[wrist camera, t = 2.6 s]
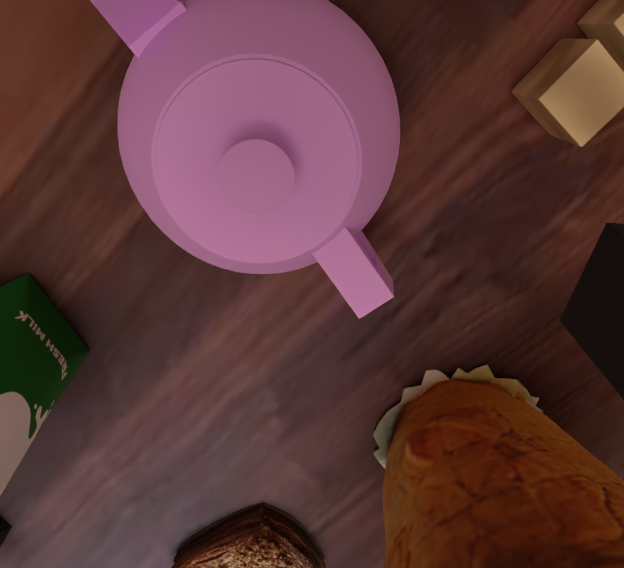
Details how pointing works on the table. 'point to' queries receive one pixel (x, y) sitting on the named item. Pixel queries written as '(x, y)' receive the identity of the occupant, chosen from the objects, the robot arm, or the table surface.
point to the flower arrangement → (3, 530)
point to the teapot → (259, 134)
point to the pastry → (251, 543)
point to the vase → (491, 482)
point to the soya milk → (31, 366)
